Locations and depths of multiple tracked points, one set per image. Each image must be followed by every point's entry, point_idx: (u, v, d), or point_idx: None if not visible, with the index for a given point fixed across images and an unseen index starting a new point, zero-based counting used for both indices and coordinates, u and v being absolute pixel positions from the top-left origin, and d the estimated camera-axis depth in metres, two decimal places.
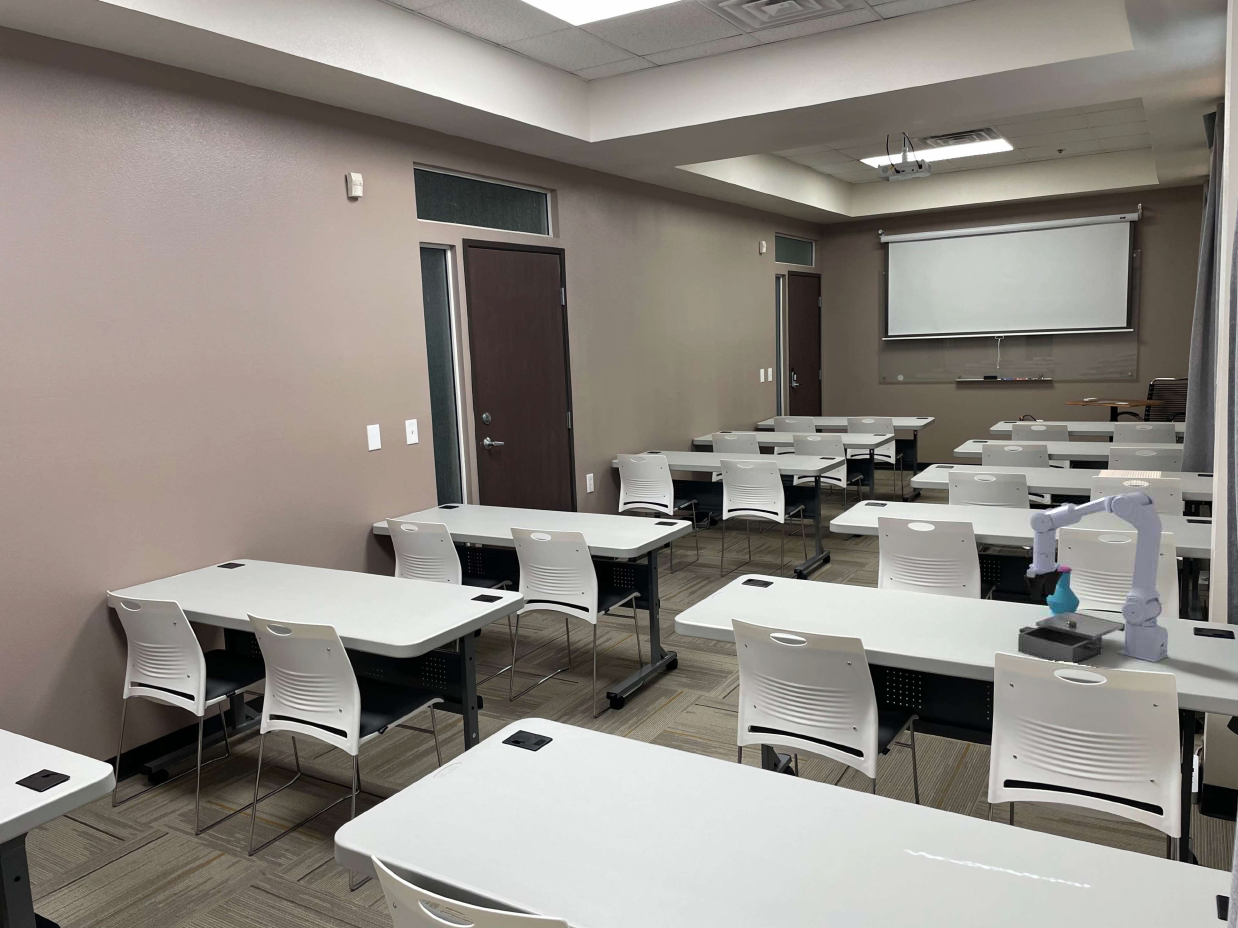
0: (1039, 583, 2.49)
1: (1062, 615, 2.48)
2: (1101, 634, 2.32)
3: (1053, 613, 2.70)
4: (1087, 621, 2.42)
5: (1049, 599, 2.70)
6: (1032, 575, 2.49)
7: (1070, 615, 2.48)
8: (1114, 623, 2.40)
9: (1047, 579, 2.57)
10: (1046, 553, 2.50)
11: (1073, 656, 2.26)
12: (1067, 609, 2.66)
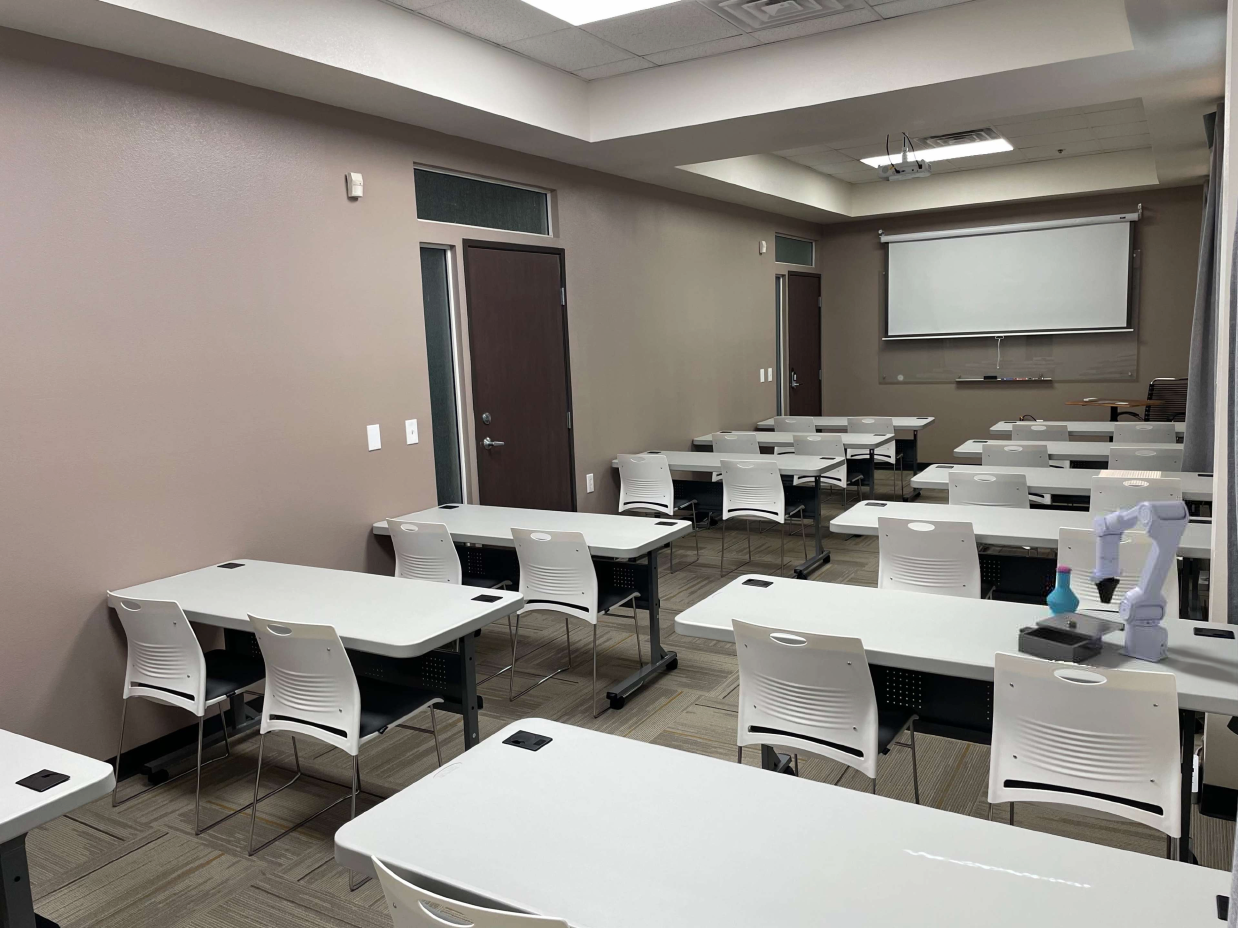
0: (1109, 587, 2.45)
1: (1062, 615, 2.48)
2: (1101, 634, 2.32)
3: (1053, 613, 2.70)
4: (1087, 621, 2.42)
5: (1049, 599, 2.70)
6: (1096, 581, 2.43)
7: (1070, 615, 2.48)
8: (1114, 623, 2.40)
9: None
10: (1103, 558, 2.45)
11: (1073, 656, 2.26)
12: (1067, 609, 2.66)
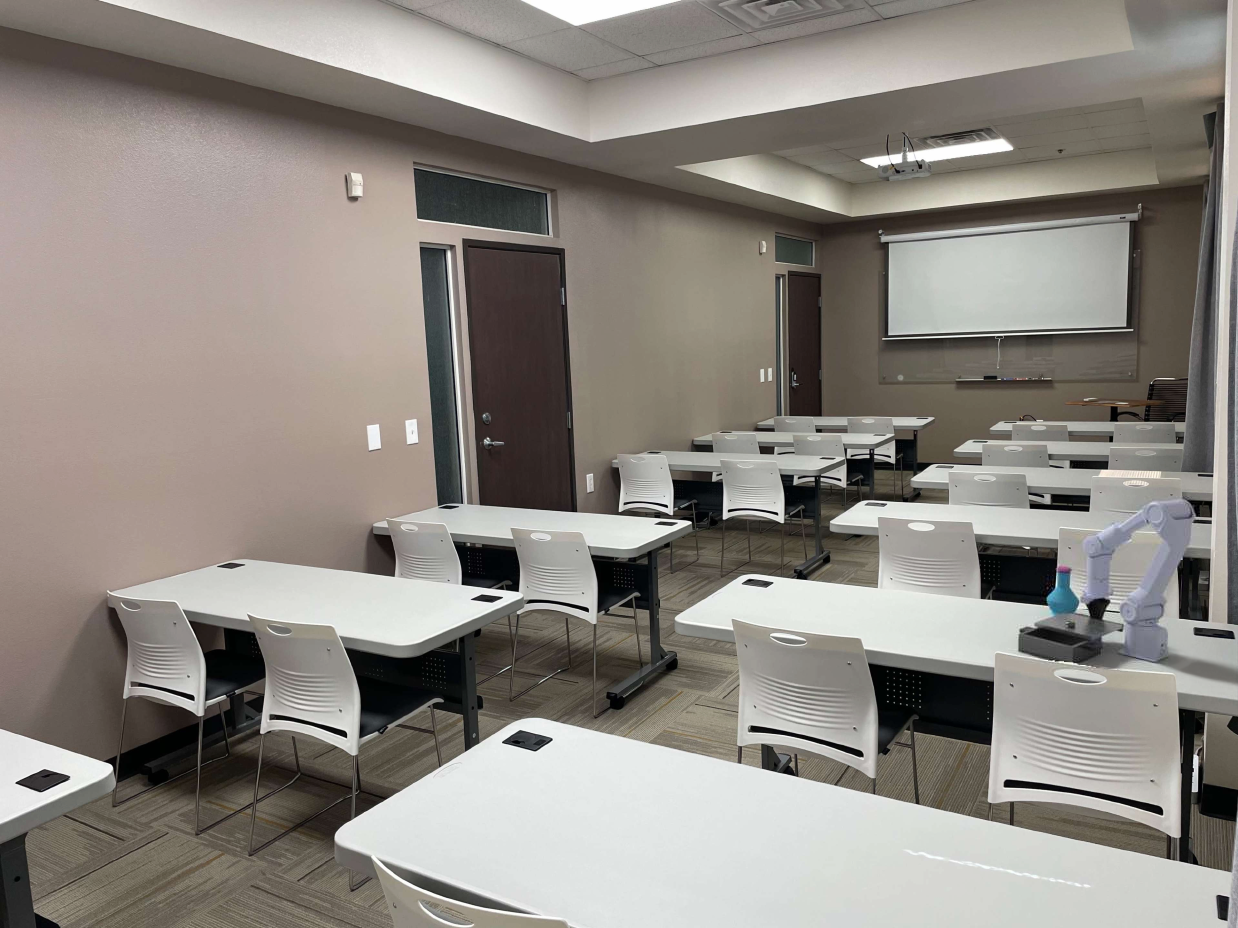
0: (1100, 607, 2.43)
1: (1061, 616, 2.48)
2: (1100, 635, 2.32)
3: (1053, 613, 2.70)
4: (1086, 622, 2.42)
5: (1049, 599, 2.70)
6: (1086, 601, 2.41)
7: (1069, 616, 2.48)
8: (1113, 624, 2.40)
9: None
10: (1097, 578, 2.42)
11: (1073, 656, 2.26)
12: (1067, 609, 2.66)
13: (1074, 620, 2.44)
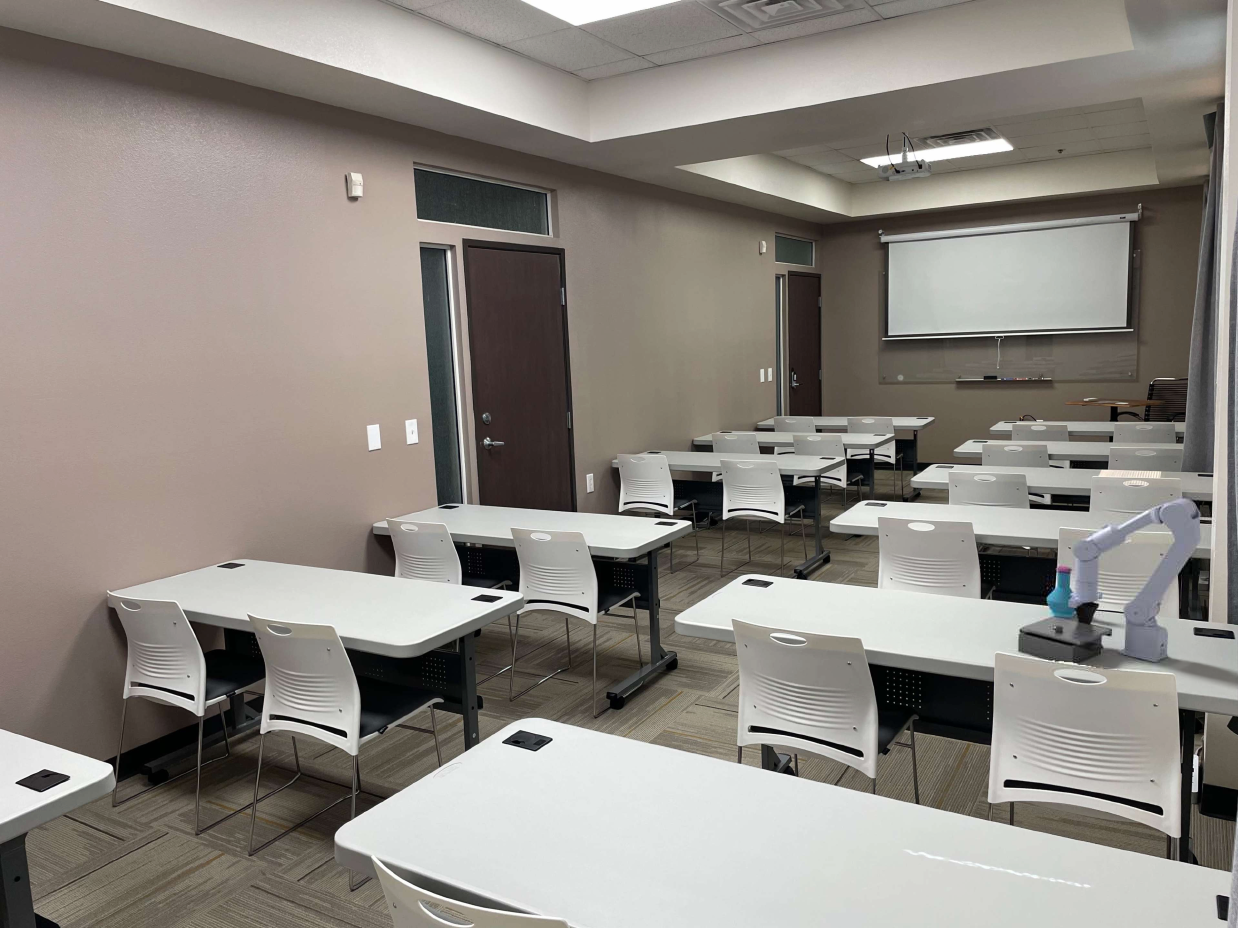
0: (1088, 611, 2.40)
1: (1049, 620, 2.44)
2: (1087, 639, 2.28)
3: (1053, 613, 2.70)
4: (1074, 626, 2.38)
5: (1049, 599, 2.70)
6: (1074, 605, 2.37)
7: (1057, 620, 2.44)
8: (1101, 628, 2.36)
9: None
10: (1090, 582, 2.38)
11: (1073, 656, 2.26)
12: (1067, 609, 2.66)
13: (1062, 624, 2.40)
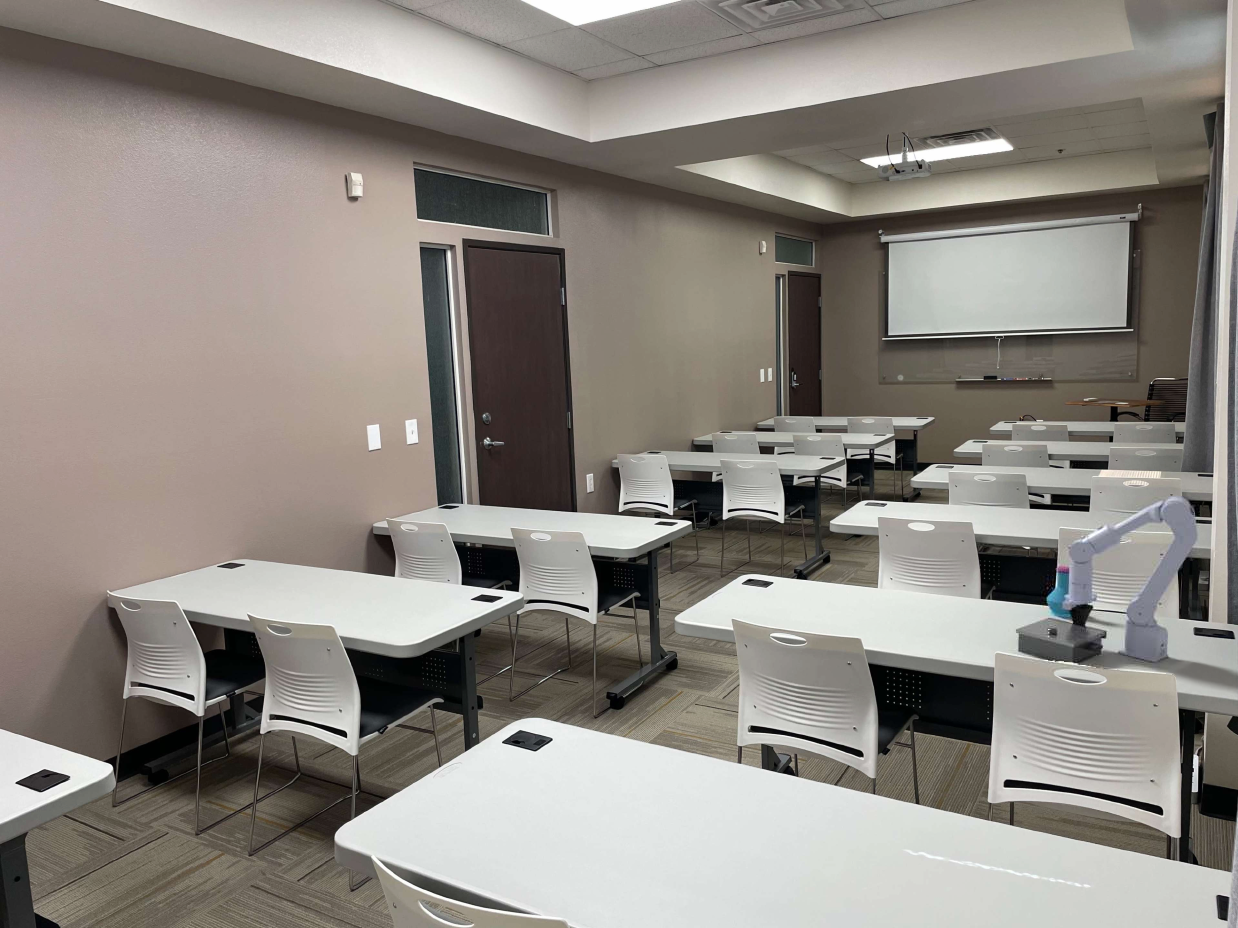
0: (1082, 613, 2.38)
1: (1043, 622, 2.43)
2: (1082, 642, 2.27)
3: (1053, 613, 2.70)
4: (1068, 628, 2.36)
5: (1049, 599, 2.70)
6: (1068, 607, 2.36)
7: (1052, 622, 2.43)
8: (1096, 630, 2.34)
9: None
10: (1087, 584, 2.37)
11: (1073, 656, 2.26)
12: None
13: (1056, 626, 2.38)
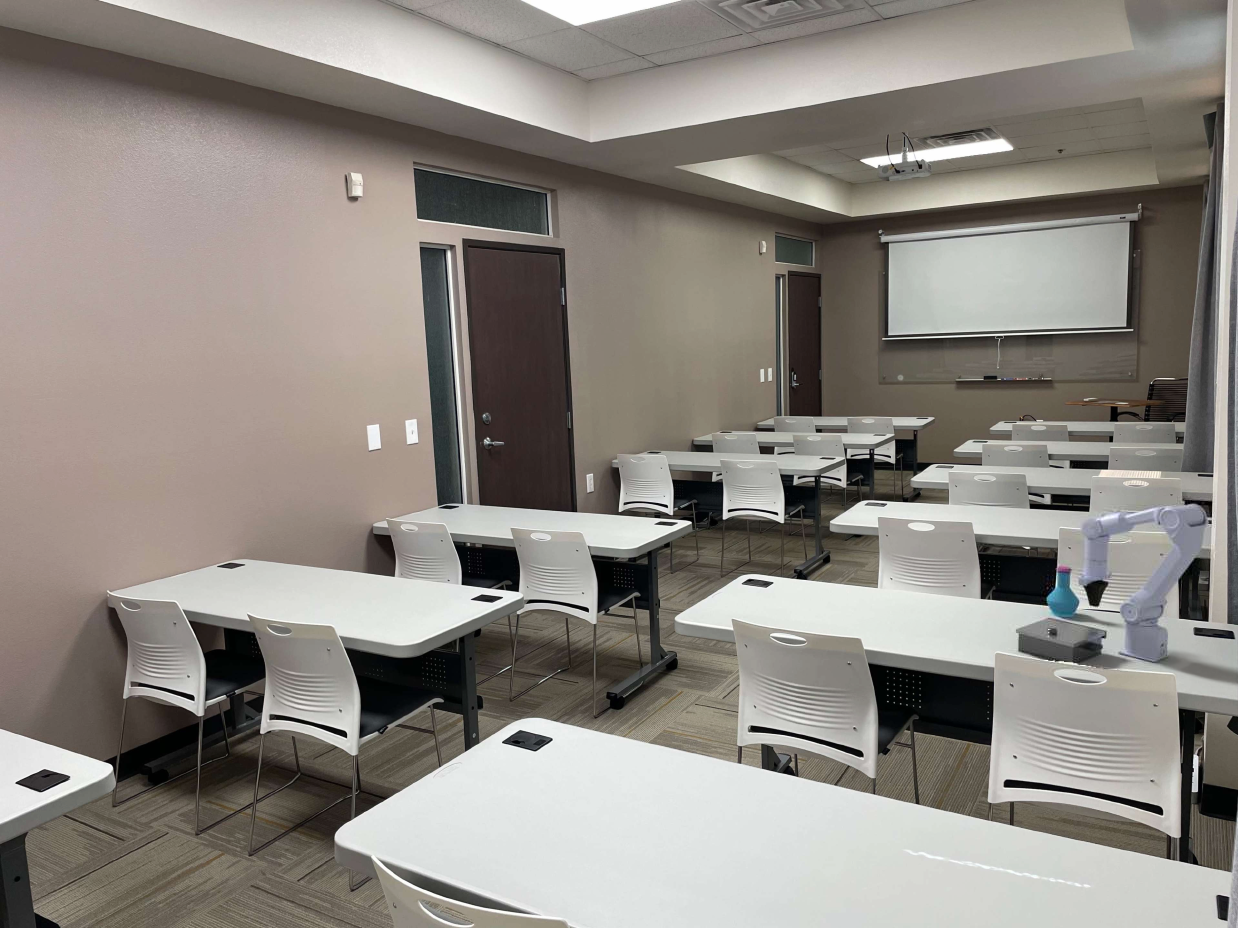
0: (1098, 589, 2.42)
1: (1043, 622, 2.43)
2: (1082, 642, 2.27)
3: (1053, 613, 2.70)
4: (1068, 628, 2.36)
5: (1049, 599, 2.70)
6: (1084, 583, 2.39)
7: (1052, 622, 2.43)
8: (1096, 630, 2.34)
9: None
10: (1096, 560, 2.41)
11: (1073, 656, 2.26)
12: (1067, 609, 2.66)
13: (1056, 626, 2.38)
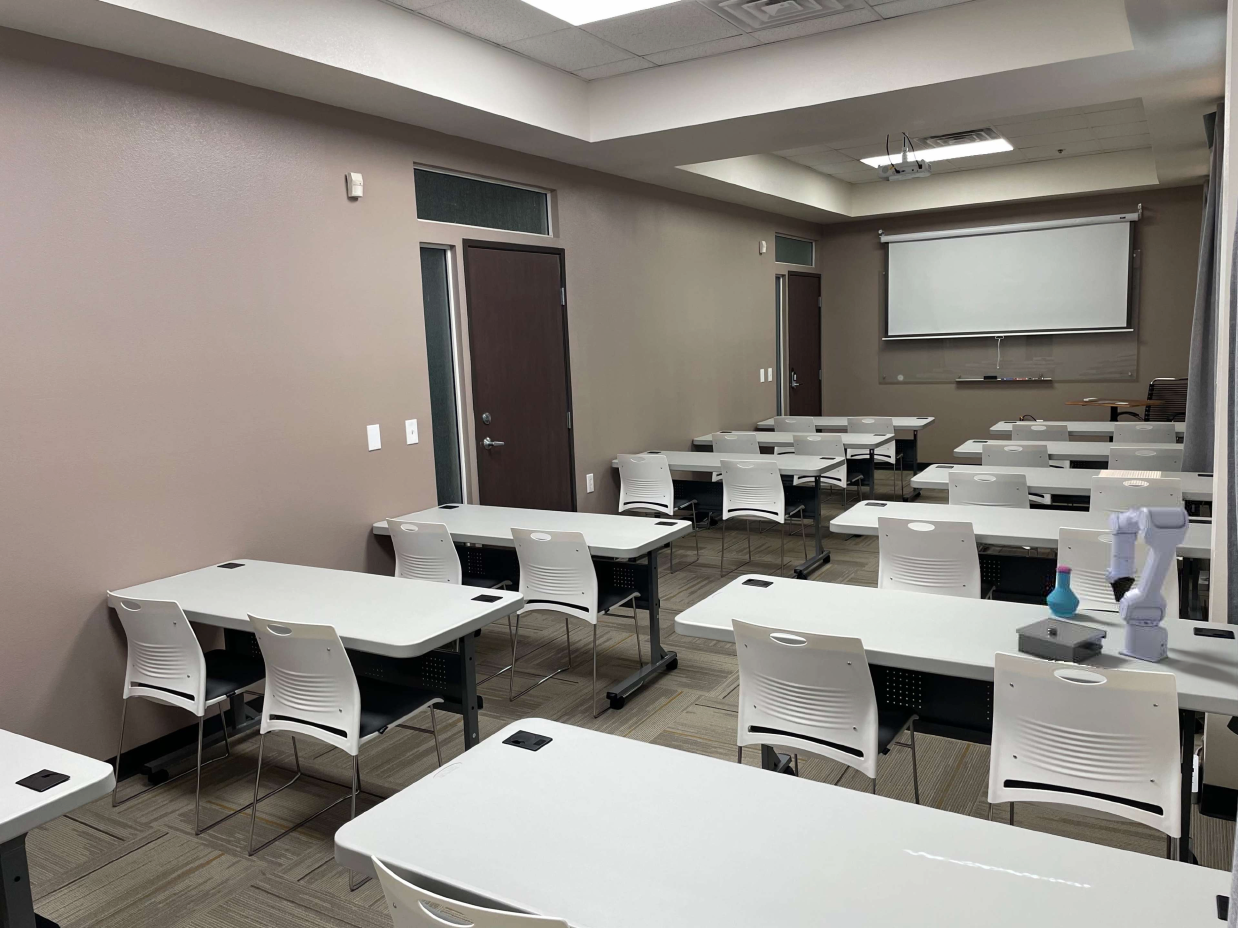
0: (1124, 586, 2.43)
1: (1043, 622, 2.43)
2: (1082, 642, 2.27)
3: (1053, 613, 2.70)
4: (1068, 628, 2.36)
5: (1049, 599, 2.70)
6: (1111, 580, 2.40)
7: (1052, 622, 2.43)
8: (1096, 630, 2.34)
9: None
10: (1117, 556, 2.43)
11: (1073, 656, 2.26)
12: (1067, 609, 2.66)
13: (1056, 626, 2.38)
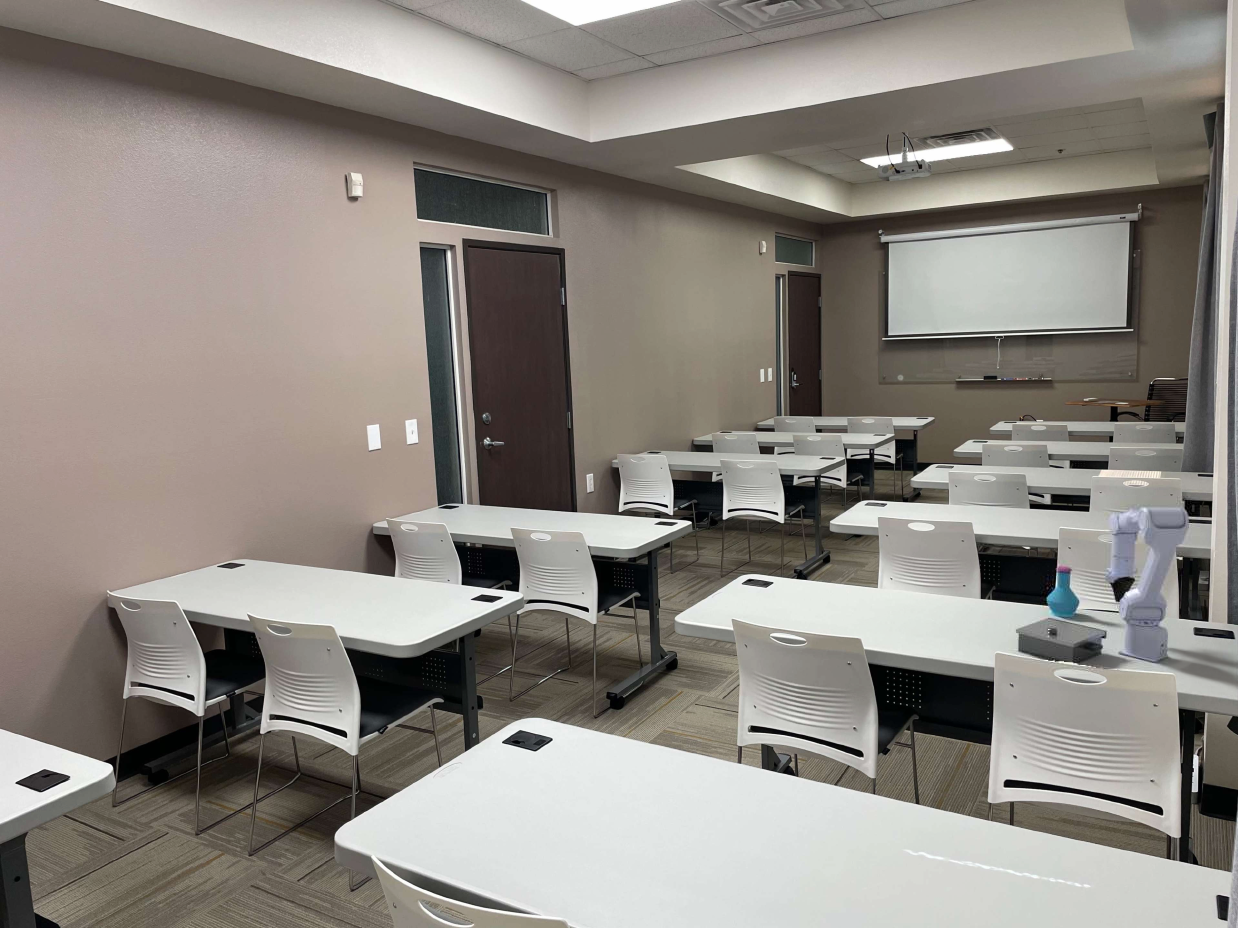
0: (1124, 586, 2.43)
1: (1043, 622, 2.43)
2: (1082, 642, 2.27)
3: (1053, 613, 2.70)
4: (1068, 628, 2.36)
5: (1049, 599, 2.70)
6: (1111, 580, 2.40)
7: (1052, 622, 2.43)
8: (1096, 630, 2.34)
9: None
10: (1117, 556, 2.43)
11: (1073, 656, 2.26)
12: (1067, 609, 2.66)
13: (1056, 626, 2.38)
